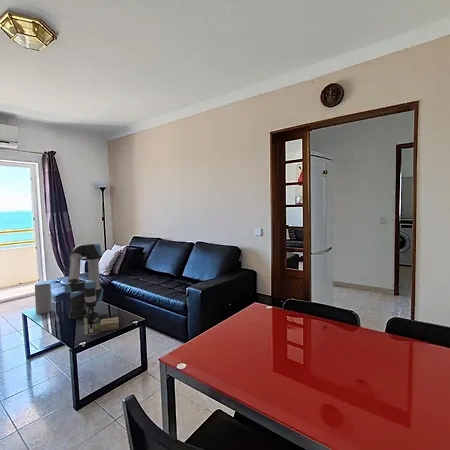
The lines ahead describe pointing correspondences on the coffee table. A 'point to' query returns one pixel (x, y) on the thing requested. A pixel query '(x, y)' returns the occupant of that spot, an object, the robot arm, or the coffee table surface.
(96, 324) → the coffee can
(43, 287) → the cylinder vase
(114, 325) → the beech block
